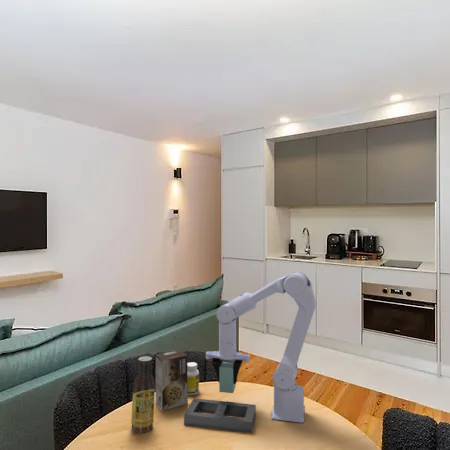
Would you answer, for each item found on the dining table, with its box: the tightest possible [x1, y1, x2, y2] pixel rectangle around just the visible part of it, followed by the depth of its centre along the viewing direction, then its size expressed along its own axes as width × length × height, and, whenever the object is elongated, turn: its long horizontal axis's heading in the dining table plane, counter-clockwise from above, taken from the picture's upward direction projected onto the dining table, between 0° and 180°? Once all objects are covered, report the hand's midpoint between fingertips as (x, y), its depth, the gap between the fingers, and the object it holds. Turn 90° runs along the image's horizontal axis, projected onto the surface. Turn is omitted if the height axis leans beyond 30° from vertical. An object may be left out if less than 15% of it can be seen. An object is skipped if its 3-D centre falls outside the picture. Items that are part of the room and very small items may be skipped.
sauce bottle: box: [130, 355, 156, 434], centre depth 100 cm, size 6×6×20 cm
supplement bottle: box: [187, 361, 200, 396], centre depth 122 cm, size 5×5×10 cm
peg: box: [218, 361, 236, 394], centre depth 114 cm, size 4×4×8 cm
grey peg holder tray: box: [183, 397, 257, 434], centre depth 104 cm, size 20×10×3 cm, turn 78°
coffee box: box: [155, 349, 189, 412], centre depth 114 cm, size 9×6×16 cm
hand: (227, 381), depth 114 cm, fingers closed on peg, 4 cm apart
